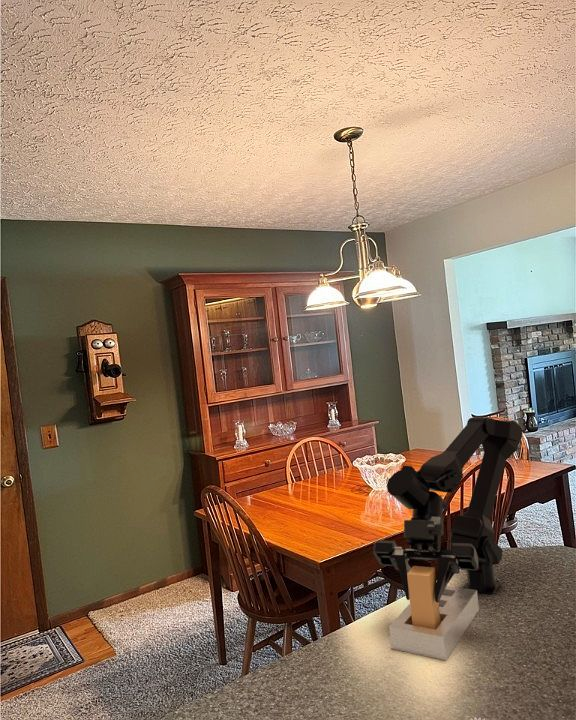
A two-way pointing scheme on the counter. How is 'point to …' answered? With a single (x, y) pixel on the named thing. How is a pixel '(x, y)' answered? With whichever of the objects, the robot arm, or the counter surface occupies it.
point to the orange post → (423, 597)
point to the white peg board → (438, 643)
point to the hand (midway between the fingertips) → (422, 600)
